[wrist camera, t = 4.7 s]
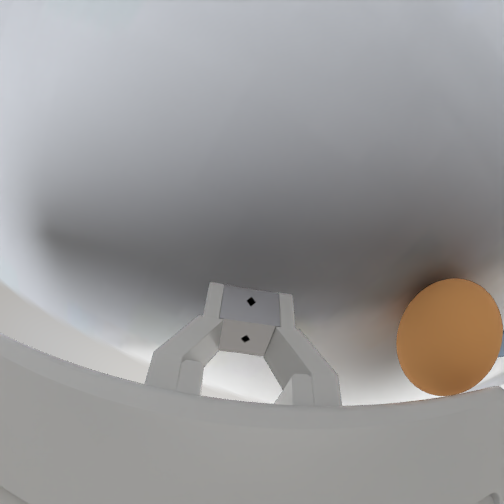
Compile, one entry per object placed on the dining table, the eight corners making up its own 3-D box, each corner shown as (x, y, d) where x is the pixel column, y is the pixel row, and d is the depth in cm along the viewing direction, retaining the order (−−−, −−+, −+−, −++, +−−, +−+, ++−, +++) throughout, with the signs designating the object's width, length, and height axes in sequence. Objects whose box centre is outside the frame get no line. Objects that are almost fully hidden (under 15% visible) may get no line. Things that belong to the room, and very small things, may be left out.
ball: (488, 263, 11) (538, 342, 7) (438, 331, 15) (466, 407, 10) (417, 244, 11) (474, 348, 7) (366, 327, 14) (388, 422, 10)
